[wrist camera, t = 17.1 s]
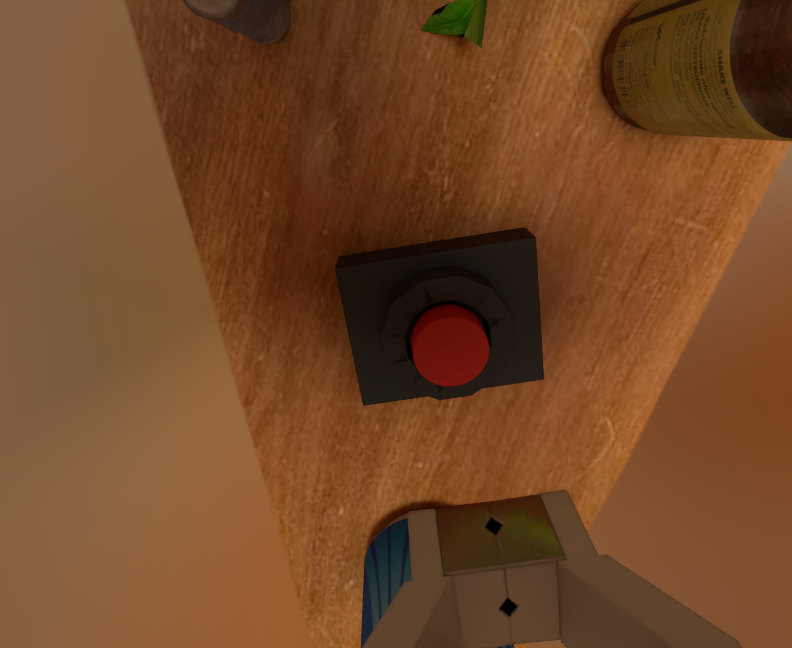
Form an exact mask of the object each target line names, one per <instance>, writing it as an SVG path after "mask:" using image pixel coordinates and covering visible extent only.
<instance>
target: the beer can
mask: <svg viewBox="0 0 792 648" xmlns="http://www.w3.org/2000/svg"><path fill="white" fill-rule="evenodd" d="M422 510H426V509H422ZM416 511H417V510H416ZM435 514H436V511H435ZM436 520H437V519H436ZM408 581H412V572H411V557H410V543H409V529H408V513H406V514H403V515H401V516H399V517H398V518H396V519H394V520H393V521H392V522H390V523H389V524H388V525H387V526H386V527H385V528H384V529H383V530H382V531H381V532H380V533H379V534H378V535H377V536H376V537H375V538H374V539H373V541H372V542H371V544H370V546H369V548H368V550H367V553H366V556H365V563H364V586H363V610H362V633H361V648H362V647H363V645H364V644H365V642H366V641H367V639H368V638H369V636H370V634H371V633H372V631H373V630H374V628H375V627H376V625H377V624H378V622H379V620H380V619H381V617H382V616H383V614H384V613H385V611H386V610H387V608H388V606H389V605H390V603H391V602H392V600H393V599H394V597H395V596H396V594H397V593H398V591H399V589H400V588H401V586H402V585H403V583H404V582H408ZM493 648H514V644H512V645H506V646H499V647H493Z"/></svg>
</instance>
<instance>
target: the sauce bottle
mask: <svg viewBox="0 0 792 648" xmlns="http://www.w3.org/2000/svg"><path fill="white" fill-rule="evenodd" d="M604 88H605V91H606V96H607V97H608V99H609V101H610V103H611V105H612V106H613V107H614V108H615V110H616V111H617V113H618V114H620V116H621V117H622V118H623V119H625V120H626V121H627V122H629V123H630V124H631V125H633V126H635V127H638V128H641V129H644V130H650V131H652V132H655V133H660V134H667V135H682V136H702V137H723V138H740V139H759V140H778V141H792V0H643V1H642V2H641V3H640V4H638V5H637V6H636V7H635V8H634V9H633V10H631V12H630V13H629V14H628V15H627V16H626V17H625V18H624V19H623V20H622V22H621V23H620V24H619V25H618V26H617V28H616V29H615V31H614V32H613V33H612V35H611V38H610V41H609V43H608V45H607V49H606V52H605V58H604Z"/></svg>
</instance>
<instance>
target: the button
mask: <svg viewBox="0 0 792 648" xmlns="http://www.w3.org/2000/svg"><path fill="white" fill-rule="evenodd" d="M411 344H412V353H413V360H414V363H415V366H416V368H417V370H418V371H419V372H420V374H421V375H422V376H423V377H424V378H426V379H427V380H429V381H430V382H432V383H435V384H437V385H441V386H457V385H462V384H465V383H467V382H469V381H471V380H472V379H474V378H475V377H476V376H478V375H479V374H480V373H481V371H482V370H483V369H484V367H485V365H486V363H487V361H488V357H489V342H488V339H487V336H486V334H485V332H484V329H483V327H482V325H481V323H480V321H479V319H478V318H477V317H476V315H475V314H474V313H472V312H471V311H470V310H468V309H466V308H464V307H462V306H458V305H452V304H447V305H440V306H436V307H434V308H431V309H429V310H428V311H426V312H425V313H424V314H423V315H421V317H420V318H419V319H418V320H417V322H416V323H415V325H414V327H413V330H412V334H411Z"/></svg>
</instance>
